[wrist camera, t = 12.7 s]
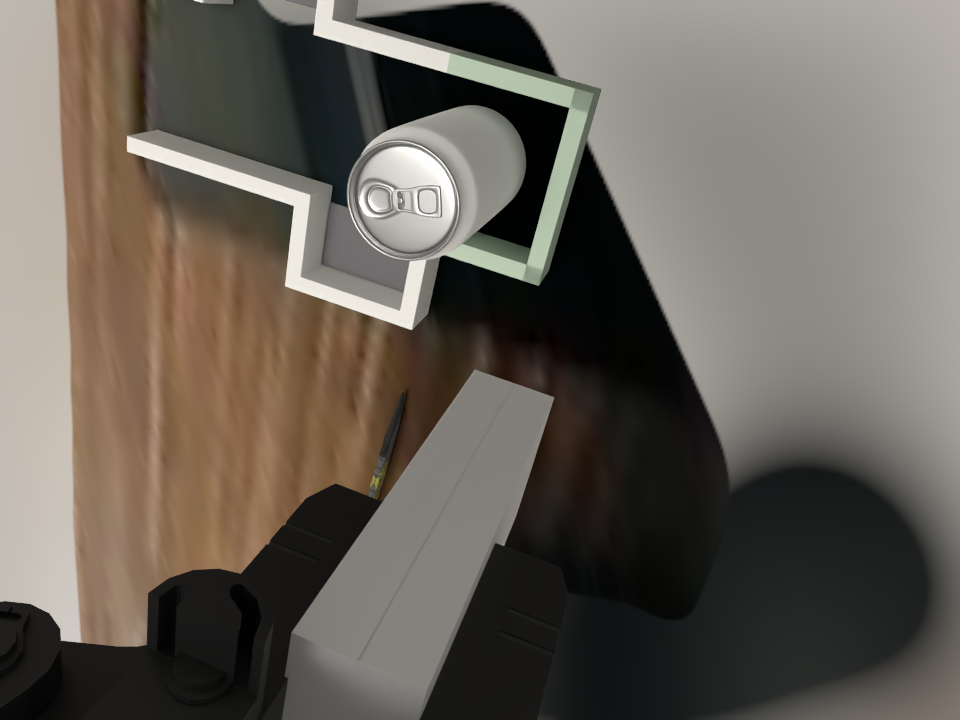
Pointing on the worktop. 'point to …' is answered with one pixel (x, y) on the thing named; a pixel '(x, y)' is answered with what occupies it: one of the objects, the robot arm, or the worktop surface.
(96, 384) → the worktop surface
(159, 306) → the worktop surface
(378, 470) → the knife
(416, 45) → the trap tray
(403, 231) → the can
